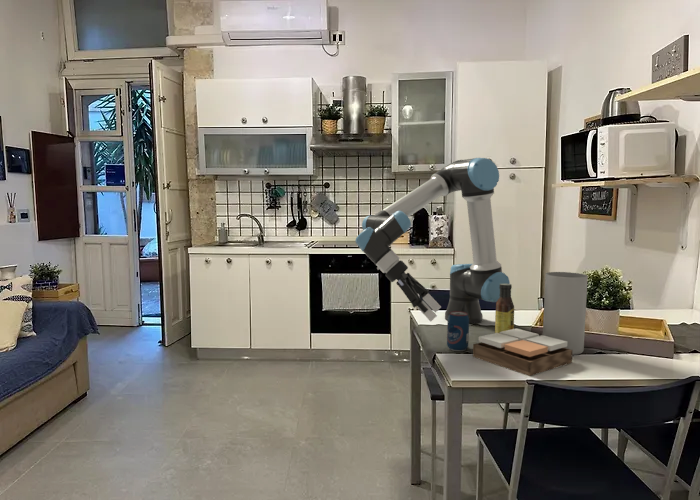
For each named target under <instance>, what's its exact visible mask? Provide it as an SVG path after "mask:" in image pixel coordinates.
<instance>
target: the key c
mask: <svg viewBox="0 0 700 500" xmlns="http://www.w3.org/2000/svg"><path fill="white" fill-rule="evenodd" d="M526 341H528V342H532V343H536V344H539V345H543V346H546V347H548V351H553V350H556V349H560V348H564V347H567V341H563V340H559V339H555V338H552V337H548V336H544V335H543V334H541V335H539V336H537V337H533V338H529V339H526Z"/></svg>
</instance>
